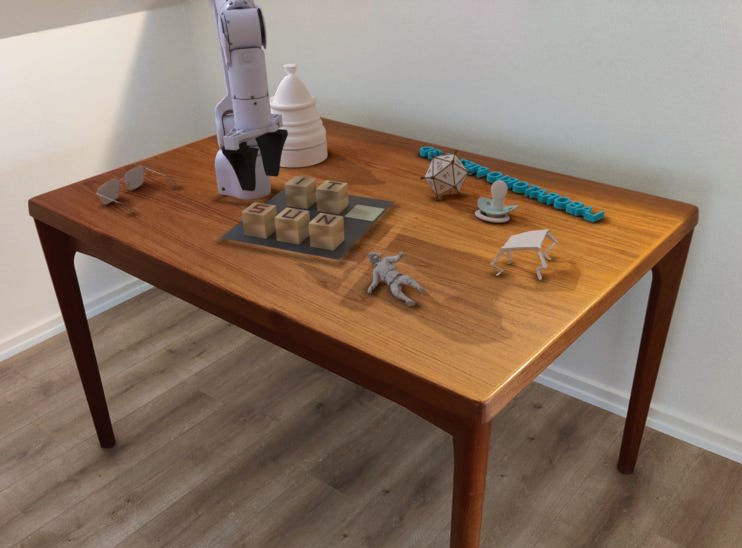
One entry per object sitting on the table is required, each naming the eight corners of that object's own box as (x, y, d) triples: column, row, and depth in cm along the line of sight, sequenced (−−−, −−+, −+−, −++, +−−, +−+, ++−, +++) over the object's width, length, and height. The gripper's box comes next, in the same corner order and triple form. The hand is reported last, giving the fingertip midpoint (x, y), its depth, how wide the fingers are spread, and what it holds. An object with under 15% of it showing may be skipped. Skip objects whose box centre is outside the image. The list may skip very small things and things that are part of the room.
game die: (452, 217, 138) (468, 188, 129) (410, 199, 138) (423, 169, 128) (466, 180, 141) (483, 149, 132) (425, 162, 141) (439, 130, 132)
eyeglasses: (146, 181, 146) (144, 162, 144) (179, 190, 144) (177, 171, 141) (98, 208, 136) (94, 188, 133) (133, 218, 133) (129, 198, 131)
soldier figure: (392, 319, 104) (343, 267, 109) (406, 327, 108) (358, 276, 114) (429, 279, 103) (377, 228, 108) (442, 288, 107) (391, 238, 112)
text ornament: (603, 217, 127) (604, 211, 127) (593, 222, 126) (594, 216, 125) (427, 150, 156) (427, 145, 156) (417, 154, 155) (417, 148, 154)
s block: (244, 235, 123) (241, 211, 121) (257, 224, 126) (254, 201, 124) (266, 238, 122) (263, 215, 119) (278, 228, 125) (276, 205, 122)
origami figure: (535, 290, 108) (538, 261, 105) (485, 274, 112) (488, 245, 109) (571, 259, 115) (575, 231, 113) (524, 245, 120) (527, 217, 117)
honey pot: (267, 147, 161) (257, 61, 150) (325, 144, 162) (320, 58, 151) (266, 169, 150) (257, 78, 140) (329, 165, 151) (324, 74, 141)
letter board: (220, 243, 123) (215, 214, 120) (288, 190, 141) (285, 163, 138) (338, 265, 116) (337, 235, 113) (394, 206, 134) (394, 179, 130)
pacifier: (504, 228, 125) (520, 215, 129) (507, 194, 122) (523, 181, 125) (467, 218, 129) (484, 205, 133) (468, 185, 125) (485, 173, 129)
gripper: (248, 107, 105) (259, 199, 112) (295, 86, 116) (303, 171, 123) (206, 105, 107) (220, 195, 114) (257, 85, 118) (266, 168, 126)
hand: (260, 182), depth 119 cm, fingers open, 7 cm apart
